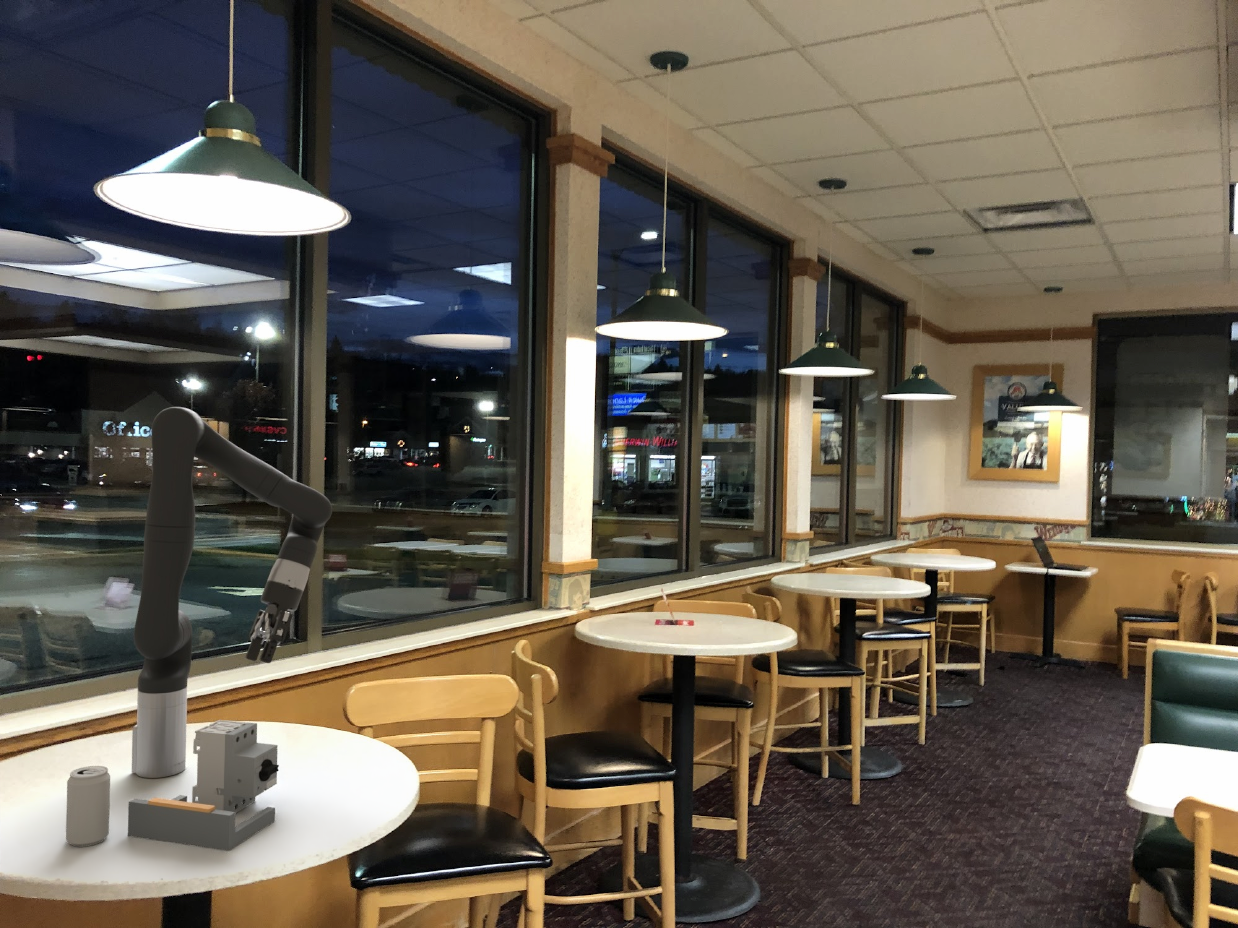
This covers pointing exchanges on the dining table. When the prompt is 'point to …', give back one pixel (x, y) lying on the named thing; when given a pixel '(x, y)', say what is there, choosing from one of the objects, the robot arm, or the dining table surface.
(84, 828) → the beverage can
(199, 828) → the breaker bay
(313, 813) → the dining table surface
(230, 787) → the circuit breaker
